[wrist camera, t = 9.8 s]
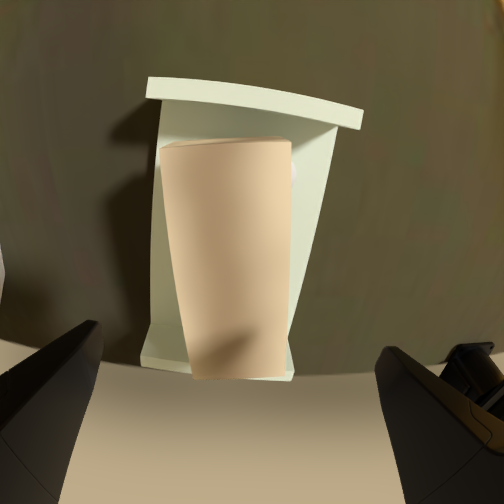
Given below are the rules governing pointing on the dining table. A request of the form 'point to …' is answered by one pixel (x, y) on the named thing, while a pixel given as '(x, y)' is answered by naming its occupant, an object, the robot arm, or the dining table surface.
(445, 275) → the dining table surface
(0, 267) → the figurine
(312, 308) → the dining table surface
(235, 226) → the beige tapered block
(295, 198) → the pale green pegged panel
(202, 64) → the dining table surface
